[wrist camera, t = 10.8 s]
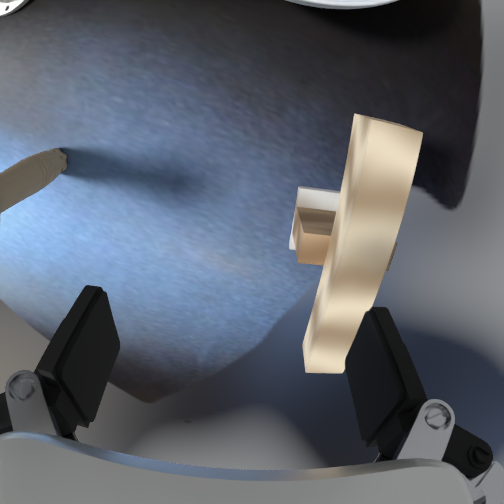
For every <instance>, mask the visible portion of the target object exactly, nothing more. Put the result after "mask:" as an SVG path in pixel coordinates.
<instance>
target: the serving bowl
mask: <svg viewBox="0 0 504 504" xmlns="http://www.w3.org/2000/svg"><path fill="white" fill-rule="evenodd" d="M286 1H289V2H293V3H297V4H302V5H307V6H312V7H319V8H329V9H359V8H368V7H375V6H379V5H384V4H388V3H392V2H395V1H398V0H286Z"/></svg>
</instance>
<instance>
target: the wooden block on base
mask: <svg viewBox="0 0 504 504" xmlns="http://www.w3.org/2000/svg"><path fill="white" fill-rule="evenodd" d="M340 192H341V191H335V190H328V189H320V188H313V187H305V186H299V187H298V193H297V200H296V206H295V212H294V218H293V224H292V230H291V236H290V242H289V249H294V250H296V255H297V261H298V263H305V264H316V265H324V263H325V259H326V255H327V251H328V247H329V242H330V238H331V234H332V229H333V225H334V220H335V216H336V211H337V206H338V202H339V197H340ZM396 246H397V243H396V241H395V244H394V247H393V250H392V253H391V256H390V259H389V262H388V265H387V268H386V270H385V271H388V269H389V266H390V264H391V261H392V258H393V255H394V252H395V249H396Z"/></svg>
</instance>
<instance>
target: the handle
mask: <svg viewBox="0 0 504 504" xmlns="http://www.w3.org/2000/svg"><path fill="white" fill-rule="evenodd" d="M66 159H67V155H66V154H64V153H62V152H61V151H60V149H59V148H54V149H50V151H44V152H40V153H37V154H35V155H32V156H30V157H27V158H25V159H23V160H21V161H19V162H18V163H16V164H14V165H13V166H11V167H9V168H8V169H6V170H5V171H3V172H1V173H0V213H2V212H3V211H5V210H6V209H8V208H10V207H11V206H13V205H15V204H17V203H18V202H20V201H22V200H24V199H25V198H27V197H29V196H31V195H33V194H35V193H36V192H38V191H39V190H41V189H43V188H44V187H45V186H47V185H48V184H49V183H51V182H52V181H53V180H54V179H55V178H56V177H57V176H58V175H59V174H60V173H61V172H63V171H64V170H65V169H66V168H67V162H66Z"/></svg>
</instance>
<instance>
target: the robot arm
mask: <svg viewBox="0 0 504 504" xmlns="http://www.w3.org/2000/svg"><path fill="white" fill-rule="evenodd" d="M28 1H29V0H0V16H7V15H9V14H12V13H14V12H15V11H17V10H19V9H20V8H21V7H22V6H24V5H25V4H26V3H27V2H28ZM119 349H120V341H119V337H118V334H117V330H116V327H115V323H114V320H113V316H112V312H111V308H110V304H109V301H108V297H107V293H106V292H105V291H103V289H102V288H101V287H98V286H90V285H87V286H85V287H84V289H83V290H82V292H81V293H80V295H79V297H78V298H77V300H76V301H75V303H74V304H73V306H72V308H71V309H70V311H69V313H68V314H67V316H66V318H64V320H63V321H62V322H61V324H60V326H59V327H58V329H57V331H56V333H55V334H54V336H53V338H52V340H51V341H50V343H49V345H48V347H47V349H46V350H45V352H44V354H43V356H42V358H41V360H40V361H39V363H38V365H37V367H36V369H35V371H34V372H31V371H29V370H21V371H18V372H16V373H14V374H13V375H12V376H11V377H10V378H9V379H8V381H7V382H6V386H5V392H4V393H1V394H0V504H504V468H503V467H502V466H501V465H500V464H499V463H498V462H497V461H496V462H493V461H492V460H493V454H492V450H491V448H490V446H489V445H488V444H487V443H486V442H485V441H483V440H482V439H479V438H478V437H476V436H475V435H473V434H471V433H469V432H468V431H466V430H464V429H463V428H461V427H459V426H458V425H456V424H454V422H455V417H454V413H453V411H452V409H451V407H450V406H449V405H448V404H446V403H445V402H443V401H441V400H438V399H437V400H436V399H432V400H427V397H426V394H425V392H424V389H423V387H422V384H421V382H420V379H419V377H418V374H417V372H416V369H415V367H414V364H413V362H412V359H411V357H410V355H409V352H408V350H407V348H406V346H405V344H404V343H403V341H402V339H401V337H400V334H399V332H398V330H397V328H396V326H395V323H394V321H393V319H392V317H391V315H390V312H389V310H388V309H387V308H386V307H371V308H370V310H369V311H366V312H365V314H364V316H363V319H362V321H361V324H360V326H359V328H358V331H357V333H356V336H355V338H354V340H353V342H352V345H351V347H350V349H349V351H348V354H347V356H346V358H345V369H346V373H347V377H348V381H349V385H350V389H351V394H352V398H353V403H354V407H355V411H356V416H357V421H358V426H359V430H360V434H361V439H362V440H363V441H366V446H367V447H374V446H378V449H379V452H380V453H379V455H378V457H377V458H376V460H375V462H374V463H368V464H362V465H352V466H343V467H334V468H321V469H306V470H236V469H220V468H210V467H199V466H191V465H183V464H176V463H169V462H163V461H157V460H151V459H146V458H141V457H136V456H131V455H127V454H122V453H118V452H114V451H110V450H106V449H102V448H98V447H94V446H90V445H87V444H83V443H80V442H79V440H78V438H77V436H76V434H75V430H76V427H77V425H79V426H83V427H86V428H88V426H89V423H90V422H93V421H94V419H95V417H96V414H97V411H98V408H99V405H100V402H101V399H102V396H103V393H104V390H105V387H106V385H107V382H108V379H109V376H110V374H111V371H112V368H113V365H114V363H115V360H116V358H117V355H118V352H119Z"/></svg>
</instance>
